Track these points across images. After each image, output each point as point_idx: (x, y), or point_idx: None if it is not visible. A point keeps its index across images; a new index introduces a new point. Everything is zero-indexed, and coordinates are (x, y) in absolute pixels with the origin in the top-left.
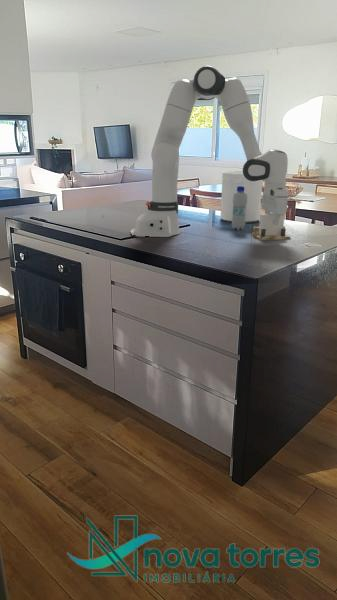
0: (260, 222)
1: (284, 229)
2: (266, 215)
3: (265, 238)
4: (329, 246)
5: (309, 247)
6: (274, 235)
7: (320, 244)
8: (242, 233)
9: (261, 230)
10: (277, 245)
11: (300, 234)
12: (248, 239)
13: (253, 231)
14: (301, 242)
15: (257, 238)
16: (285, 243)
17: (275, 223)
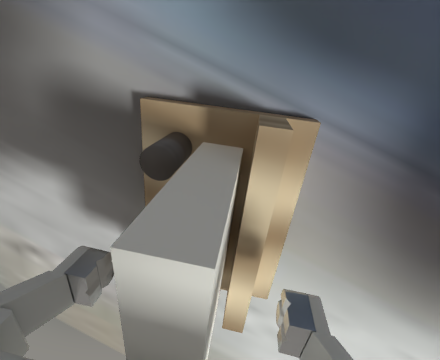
0: (204, 186)
1: None
2: (125, 291)
3: (145, 144)
4: None
5: (2, 241)
6: None
7: None
8: (420, 71)
9: (159, 143)
10: (11, 135)
11: (240, 343)
12: (172, 16)
13: (278, 120)
14: None
15: (178, 101)
16: (62, 197)
17: (74, 258)
